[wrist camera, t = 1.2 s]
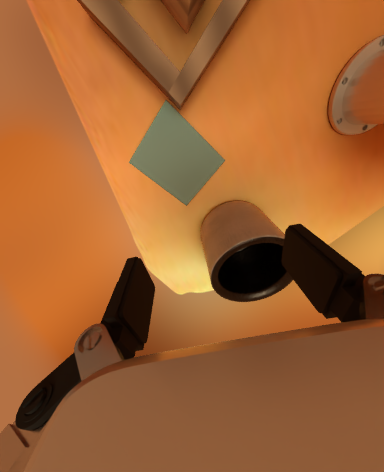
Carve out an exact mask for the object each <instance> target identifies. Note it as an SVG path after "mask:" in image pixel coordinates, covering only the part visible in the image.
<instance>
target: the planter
mask: <svg viewBox="0 0 384 472" xmlns="http://www.w3.org/2000/svg"><path fill="white" fill-rule="evenodd" d="M284 238H285V234H284V233H283V232H282V231H281V230H280V229H279V228H278V227H277V226H276V225H275V224H274V223H273V222H272V221H271V220H270V219H269V218H268V217H267V216H266V215H265V214H264V213H263V212H262V211H261V210H260V209H259V208H258V207H256V206H255V205H253V204H251V203H249V202H245V201H231V202H227V203H224V204H222V205H220V206H218V207H216V208H215V209H213V210H212V211H211V212H210V213H209V214H208V215H207V217H206V218H205V220H204V222H203V224H202V227H201V242H202V246H203V250H204V254H205V258H206V263H207V267H208V271H209V276H210V280H211V284H212V287H213V289H214V290H215V291H216V293H217V294H219V295H220V296H221V297H223V298H225V299H228V300H231V301H237V302H250V301H256V300H260V299H264V298H267V297H269V296H272V295H273V294H276V293H277V292H279V291H281V290H282V289H284V288H285V287H286V286H287V285H288V284H290V283H291V282H292V280H293V278H292V277H291V276H290V274H289V273H288V272H287V270H286V269H285V268H284V266H283V265H282V262H281V259H282V252H283V245H284Z"/></svg>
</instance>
